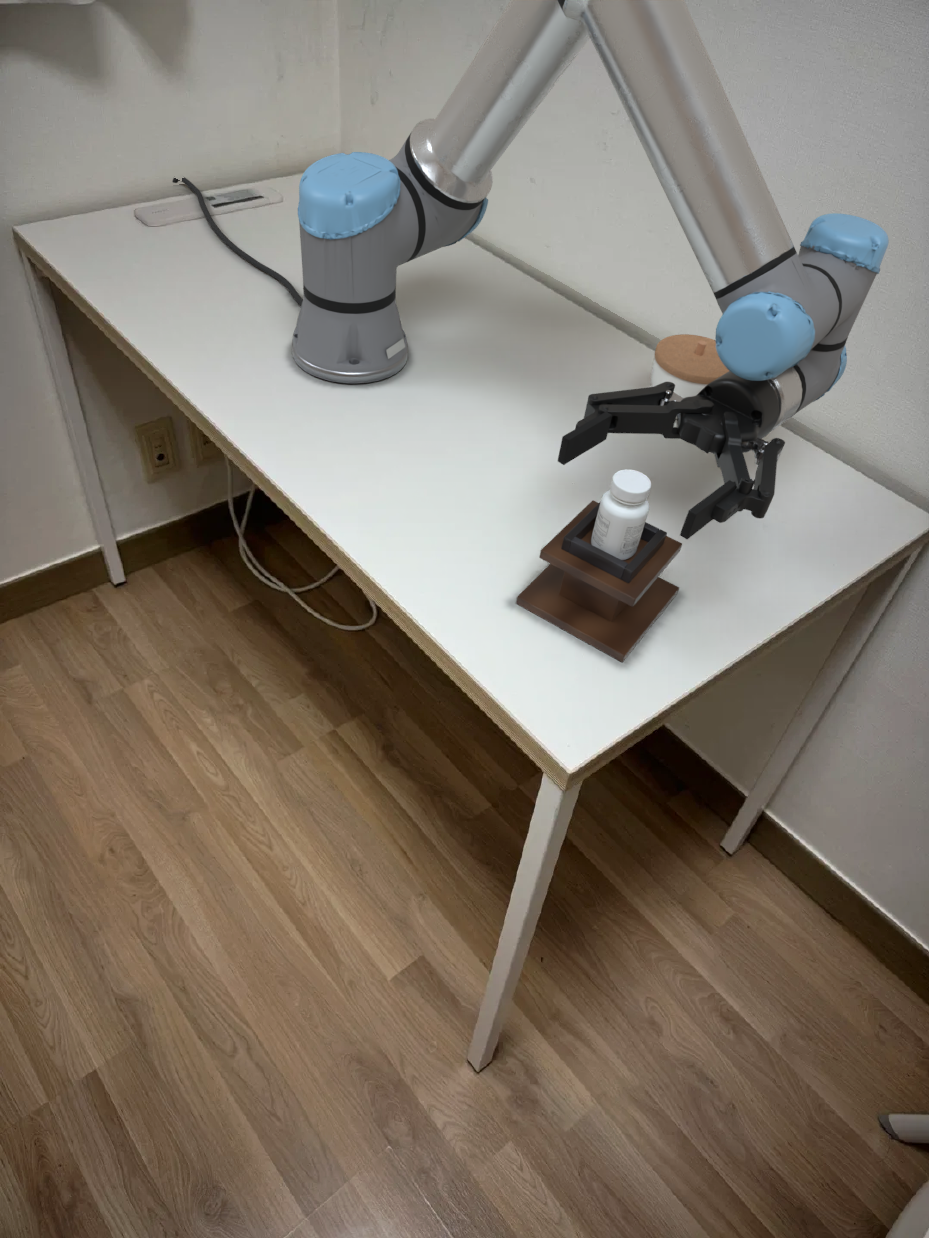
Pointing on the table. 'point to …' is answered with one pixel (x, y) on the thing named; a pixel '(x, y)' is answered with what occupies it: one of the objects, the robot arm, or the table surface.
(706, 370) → the trinket box
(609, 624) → the stand
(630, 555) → the pill bottle
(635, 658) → the table surface
